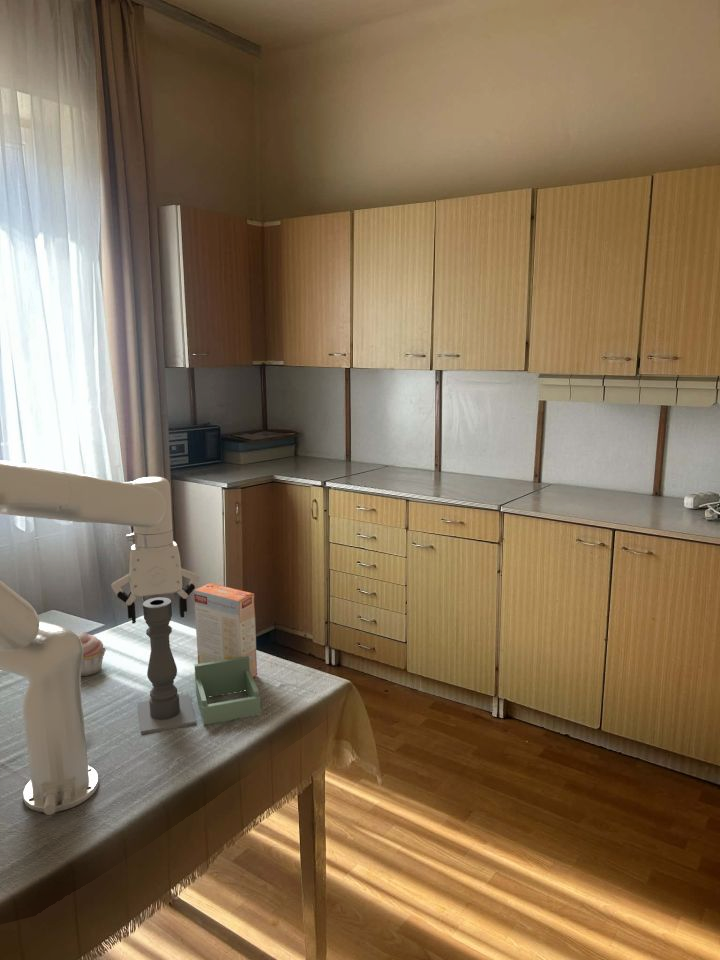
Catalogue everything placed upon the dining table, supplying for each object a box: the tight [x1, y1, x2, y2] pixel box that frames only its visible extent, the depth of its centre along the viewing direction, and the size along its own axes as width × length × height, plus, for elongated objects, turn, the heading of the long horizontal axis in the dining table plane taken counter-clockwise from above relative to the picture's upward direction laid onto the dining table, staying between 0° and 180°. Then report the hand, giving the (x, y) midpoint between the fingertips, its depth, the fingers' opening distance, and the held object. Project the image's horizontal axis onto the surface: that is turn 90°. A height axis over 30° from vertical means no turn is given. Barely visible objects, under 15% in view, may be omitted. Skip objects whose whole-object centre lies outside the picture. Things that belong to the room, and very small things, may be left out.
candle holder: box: [142, 596, 180, 720], centre depth 153 cm, size 6×6×25 cm
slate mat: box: [137, 693, 197, 735], centre depth 156 cm, size 12×11×1 cm
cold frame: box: [194, 656, 261, 726], centre depth 159 cm, size 12×12×8 cm
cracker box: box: [193, 582, 258, 678], centre depth 172 cm, size 14×6×21 cm, turn 58°
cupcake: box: [77, 631, 107, 677], centre depth 175 cm, size 9×9×10 cm
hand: (158, 618), depth 151 cm, fingers open, 9 cm apart
